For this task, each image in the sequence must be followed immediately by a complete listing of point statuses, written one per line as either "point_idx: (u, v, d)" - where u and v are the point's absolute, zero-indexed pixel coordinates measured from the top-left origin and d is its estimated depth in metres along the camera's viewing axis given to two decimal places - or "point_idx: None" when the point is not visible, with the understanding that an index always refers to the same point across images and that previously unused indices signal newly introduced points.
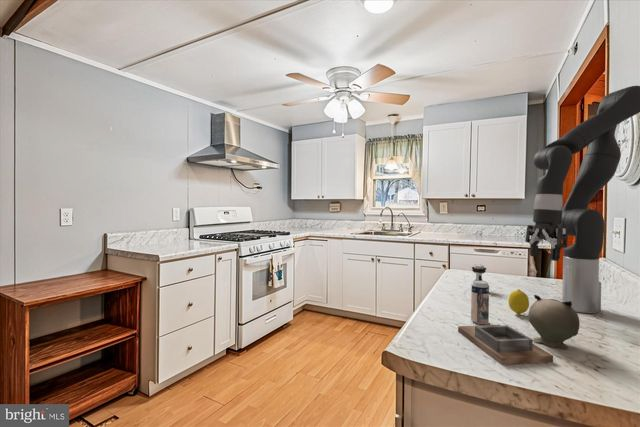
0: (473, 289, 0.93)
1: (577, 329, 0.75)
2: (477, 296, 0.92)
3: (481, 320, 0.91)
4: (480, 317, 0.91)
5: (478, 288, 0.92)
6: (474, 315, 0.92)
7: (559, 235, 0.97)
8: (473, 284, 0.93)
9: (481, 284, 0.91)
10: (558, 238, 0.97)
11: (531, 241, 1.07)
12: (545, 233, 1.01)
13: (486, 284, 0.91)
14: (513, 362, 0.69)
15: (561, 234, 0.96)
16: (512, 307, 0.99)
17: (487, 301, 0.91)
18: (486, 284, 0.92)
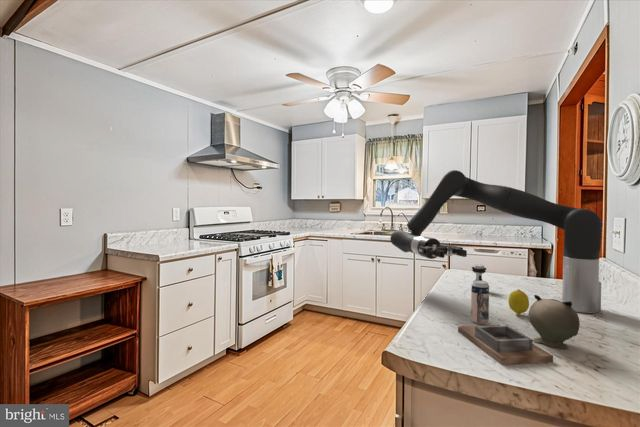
0: (473, 289, 0.93)
1: (577, 329, 0.75)
2: (477, 296, 0.92)
3: (481, 320, 0.91)
4: (480, 317, 0.91)
5: (478, 288, 0.92)
6: (474, 315, 0.92)
7: None
8: (473, 284, 0.93)
9: (481, 284, 0.91)
10: None
11: (455, 254, 1.09)
12: None
13: (486, 284, 0.91)
14: (513, 362, 0.69)
15: (421, 253, 1.10)
16: (512, 307, 0.99)
17: (487, 301, 0.91)
18: (486, 284, 0.92)
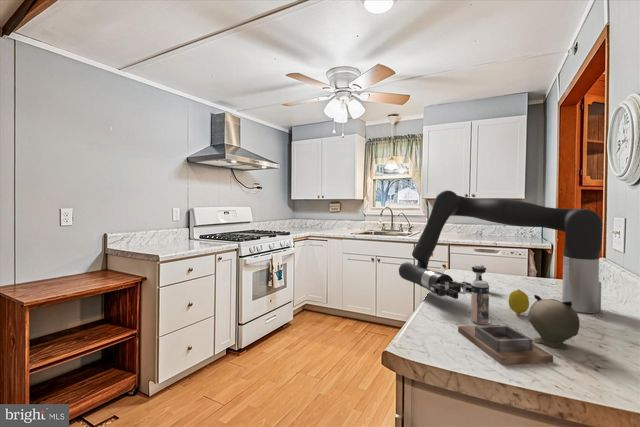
0: (473, 289, 0.93)
1: (577, 329, 0.75)
2: (477, 296, 0.92)
3: (481, 320, 0.91)
4: (480, 317, 0.91)
5: (478, 288, 0.92)
6: (474, 315, 0.92)
7: None
8: (473, 284, 0.93)
9: (481, 284, 0.91)
10: None
11: None
12: None
13: (486, 284, 0.91)
14: (513, 362, 0.69)
15: (433, 291, 1.04)
16: (512, 307, 0.99)
17: (487, 301, 0.91)
18: (486, 284, 0.92)
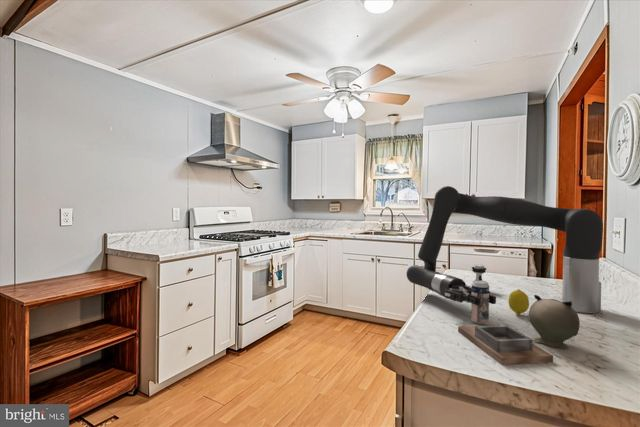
0: (473, 289, 0.93)
1: (577, 329, 0.75)
2: (477, 296, 0.92)
3: (481, 320, 0.91)
4: (480, 317, 0.91)
5: (478, 288, 0.92)
6: (474, 315, 0.92)
7: None
8: (473, 284, 0.93)
9: (481, 284, 0.91)
10: None
11: None
12: None
13: (486, 284, 0.91)
14: (513, 362, 0.69)
15: (449, 298, 0.97)
16: (512, 307, 0.99)
17: (487, 301, 0.91)
18: (486, 284, 0.92)
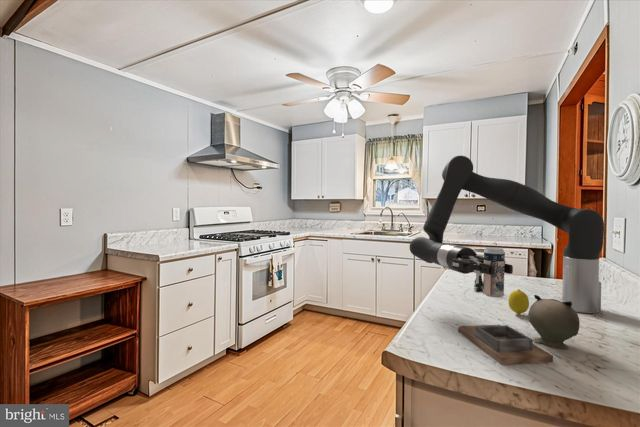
0: (486, 256, 0.80)
1: (577, 329, 0.75)
2: (491, 264, 0.79)
3: (495, 292, 0.78)
4: (494, 289, 0.78)
5: (492, 255, 0.79)
6: (487, 287, 0.79)
7: (460, 269, 0.84)
8: (486, 251, 0.80)
9: (495, 250, 0.78)
10: None
11: None
12: None
13: (501, 250, 0.78)
14: (513, 362, 0.69)
15: (458, 268, 0.84)
16: (512, 307, 0.99)
17: (502, 270, 0.78)
18: (501, 251, 0.78)
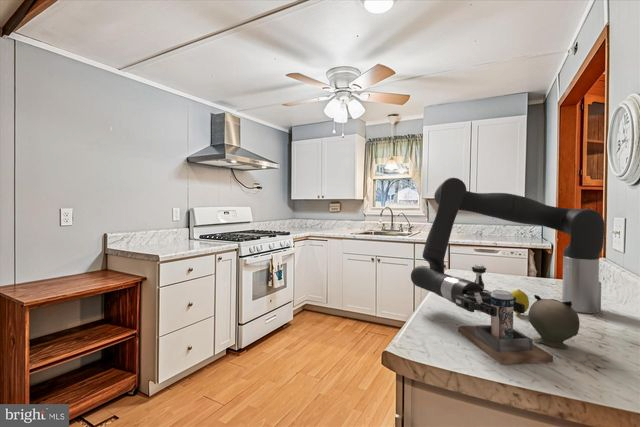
0: (493, 301, 0.76)
1: (577, 329, 0.75)
2: (499, 310, 0.74)
3: None
4: (503, 336, 0.74)
5: (500, 300, 0.74)
6: (495, 333, 0.75)
7: None
8: (493, 295, 0.76)
9: (504, 295, 0.74)
10: None
11: None
12: None
13: (510, 295, 0.74)
14: (513, 362, 0.69)
15: (460, 305, 0.80)
16: None
17: (511, 316, 0.74)
18: (509, 296, 0.74)
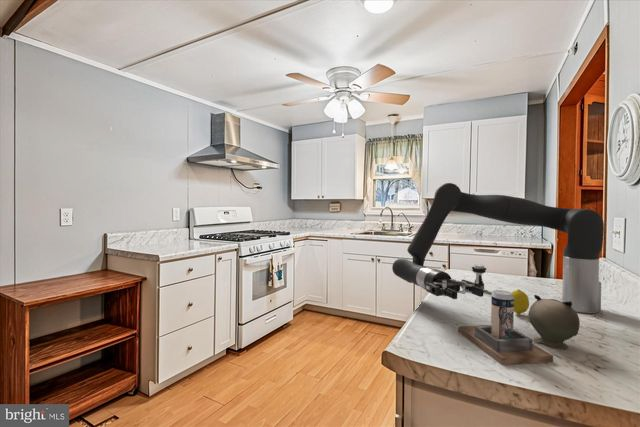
0: (494, 301, 0.75)
1: (577, 329, 0.75)
2: (499, 310, 0.74)
3: None
4: (503, 336, 0.74)
5: (500, 301, 0.74)
6: (495, 333, 0.75)
7: None
8: (494, 295, 0.76)
9: (504, 295, 0.74)
10: None
11: None
12: None
13: (510, 295, 0.74)
14: (513, 362, 0.69)
15: (429, 291, 0.93)
16: None
17: (511, 316, 0.74)
18: (510, 296, 0.74)
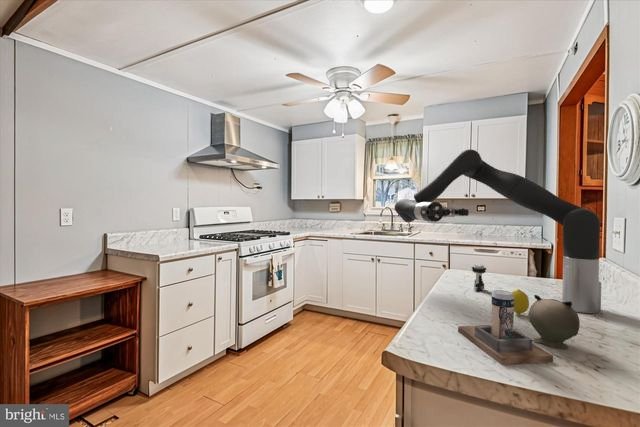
0: (494, 301, 0.75)
1: (577, 329, 0.75)
2: (499, 310, 0.74)
3: None
4: (503, 336, 0.74)
5: (500, 301, 0.74)
6: (495, 333, 0.75)
7: (425, 215, 1.13)
8: (494, 295, 0.76)
9: (504, 295, 0.74)
10: (428, 215, 1.12)
11: (457, 215, 1.13)
12: (436, 217, 1.14)
13: (510, 295, 0.74)
14: (513, 362, 0.69)
15: (424, 214, 1.13)
16: None
17: (512, 316, 0.74)
18: (510, 296, 0.74)
